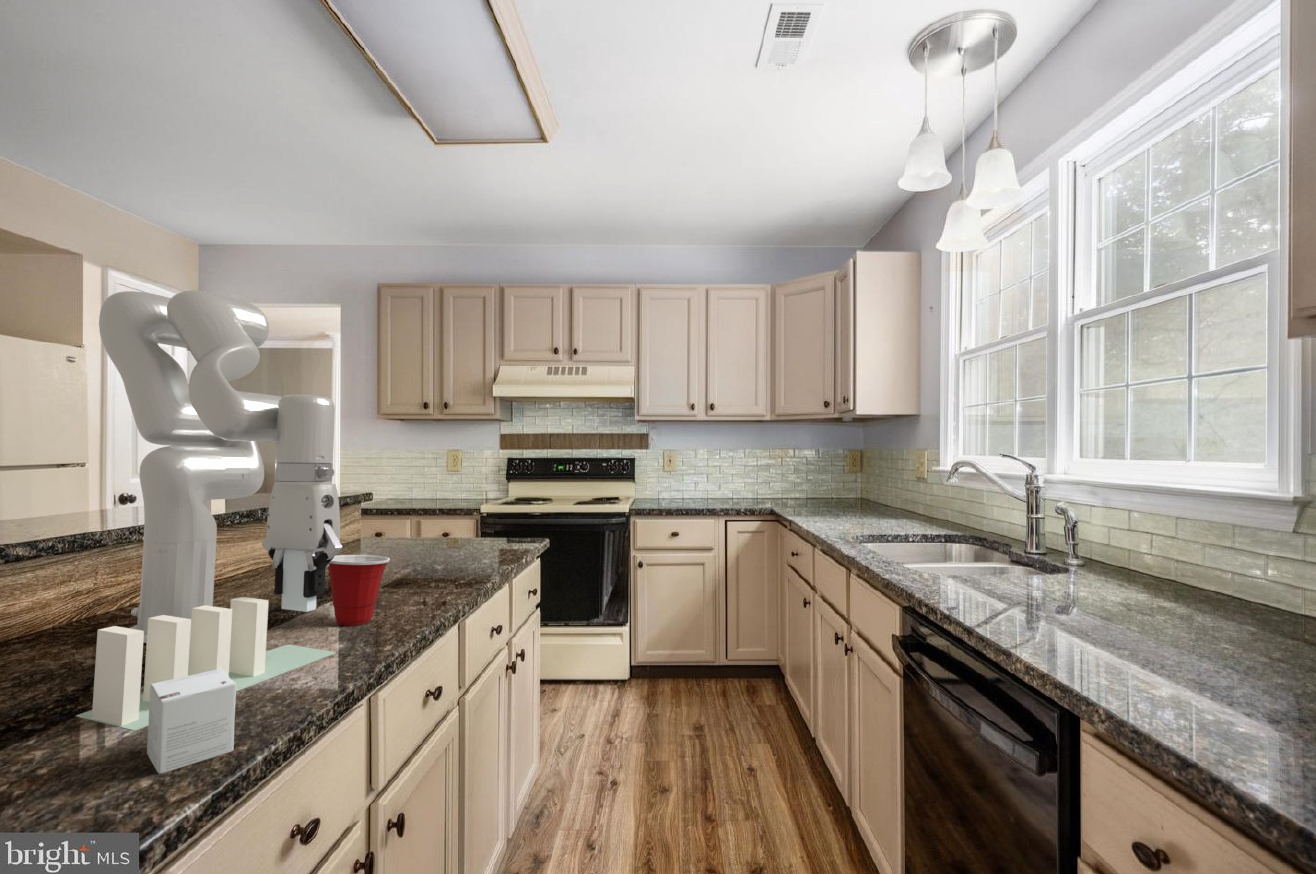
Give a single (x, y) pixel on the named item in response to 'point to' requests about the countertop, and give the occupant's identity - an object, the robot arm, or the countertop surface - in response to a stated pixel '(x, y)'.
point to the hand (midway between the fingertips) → (299, 593)
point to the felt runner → (243, 676)
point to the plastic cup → (355, 586)
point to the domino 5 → (295, 582)
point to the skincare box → (190, 719)
